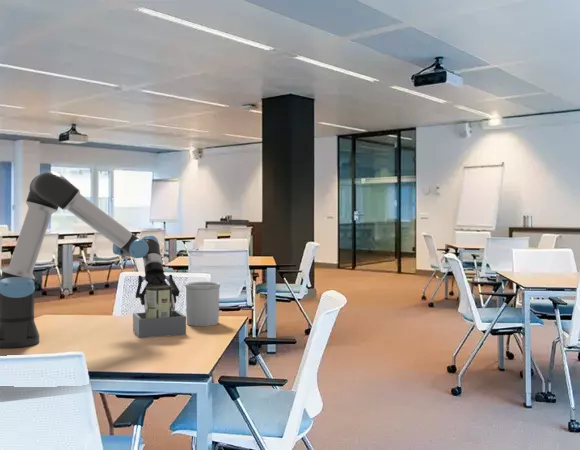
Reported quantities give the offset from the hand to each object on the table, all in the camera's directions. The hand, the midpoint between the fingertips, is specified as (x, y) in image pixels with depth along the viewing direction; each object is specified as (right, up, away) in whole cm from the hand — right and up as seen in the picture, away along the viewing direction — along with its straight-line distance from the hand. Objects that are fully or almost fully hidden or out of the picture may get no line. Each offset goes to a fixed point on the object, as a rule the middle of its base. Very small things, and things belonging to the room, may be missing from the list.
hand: (160, 310), depth 218 cm
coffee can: (-1, -5, +3) cm, 6 cm away
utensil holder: (+13, -10, +22) cm, 28 cm away
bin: (-1, -9, +3) cm, 10 cm away
